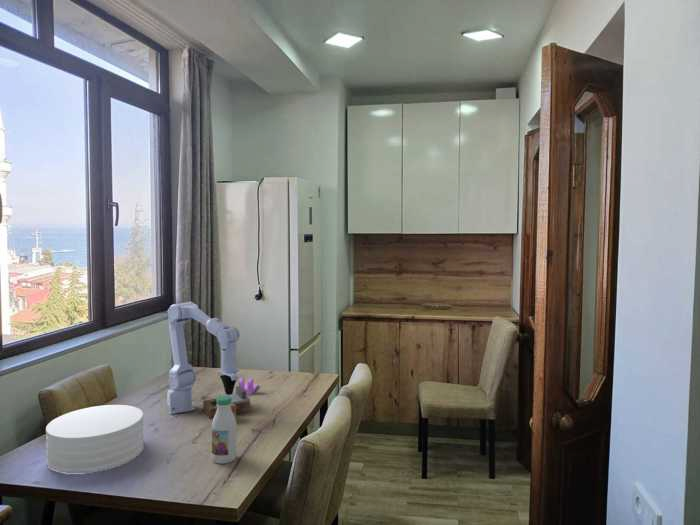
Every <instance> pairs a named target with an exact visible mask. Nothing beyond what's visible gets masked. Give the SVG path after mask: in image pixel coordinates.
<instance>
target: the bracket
mask: <svg viewBox="0 0 700 525" xmlns="http://www.w3.org/2000/svg"><path fill="white" fill-rule="evenodd" d="M238 386H240V387H241V388H243V389H244V390H245V391H246V396H251V395H253V394H254V392H256V390H257V389H258V383H254V378H249V379H248V380H247V383H246V384H245V377H244V378H241V377H240V378H239V380H238Z"/></svg>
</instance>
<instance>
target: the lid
mask: <svg viewBox="0 0 700 525" xmlns="http://www.w3.org/2000/svg"><path fill="white" fill-rule="evenodd" d="M221 396H229V397H231V403H234V404H239V403H245V402H250V403H251V399H250V397H248V395H246V391H245V390H244V389H243V388H241V387H240V386H239V385H237V386H235V392H233V394H231V395H227V394H226V393H224V394H219V397H221Z"/></svg>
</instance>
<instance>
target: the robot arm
mask: <svg viewBox="0 0 700 525" xmlns="http://www.w3.org/2000/svg"><path fill="white" fill-rule="evenodd" d="M167 317H168V328H169V337H170V344H171V351H172V361H173V367H171V369H170V370H169V372H168V375H169V378H168V385H169V387H170V388H171V389H168V390H167V392H166V393H167V394H166V396H167V397H166V399H167V401H166V404H167V407H166V409H167V410H168V412H169V414H171V415H174V414H179V413H180V414H181V413H184V412H185V413H186V412H190V411H195V410H196V408H195V407H194V406H193V390H192V389H193V388H192V387H194V383H196V380H197V375H196V373H195V370H194V366H193V365H192V364H189V361H188V353H187V346H186V345H187V344H186V339H185V338H186V337H185V331H184V330H185V329H184V325H185V324H186V323H187V321H189V320H190V319H193V320H195V321H197V322H198V323H200V324H201V325H204V326H205V329H206V331H208V333H210V334H212V335H213V336H214V337H216V338H217V341H218V344H219V348H220V376H219V377H220V379H221V381H222V383H223V388H224V392H225V393H224V394H227V395H231V394H233V393H234V388H235V386H236V385H235V384H236V383H237V381H238V378H239V377H238V372H240V368H237V342H238V340H239V339H240V331H239V330H238V329H237V328H236V327H235V326H229V325H228V324H225V323H224V322H222V321H221V319H219V317H213V318H211V317H210V316H208V315H207V314H206V313H205V312H204V311H202V310H201V309H200V308H199V306H198V304H195V303H194V302H193V301H188V302H187V301H186V302H181V303H174V304H171V305H170V307H169V308H168V309H167Z"/></svg>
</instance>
